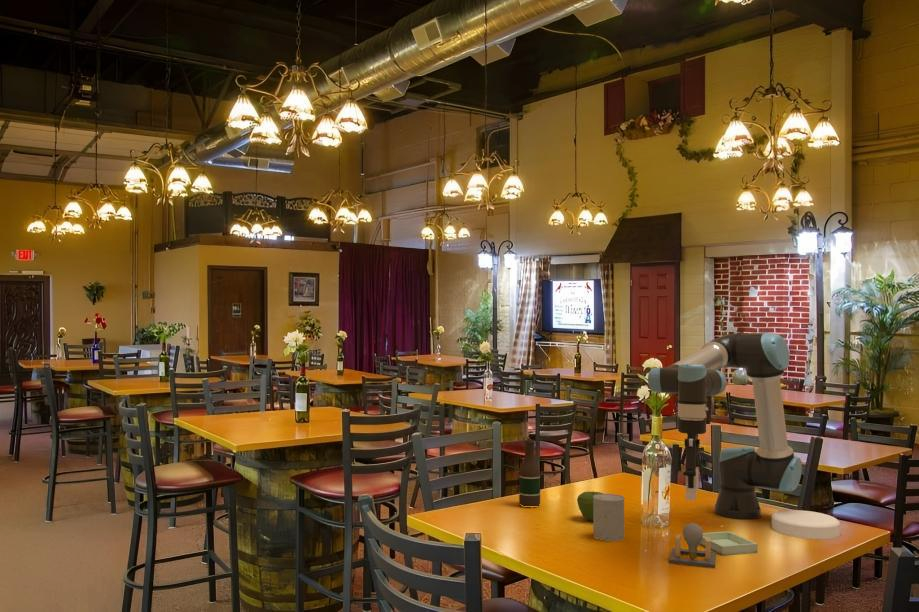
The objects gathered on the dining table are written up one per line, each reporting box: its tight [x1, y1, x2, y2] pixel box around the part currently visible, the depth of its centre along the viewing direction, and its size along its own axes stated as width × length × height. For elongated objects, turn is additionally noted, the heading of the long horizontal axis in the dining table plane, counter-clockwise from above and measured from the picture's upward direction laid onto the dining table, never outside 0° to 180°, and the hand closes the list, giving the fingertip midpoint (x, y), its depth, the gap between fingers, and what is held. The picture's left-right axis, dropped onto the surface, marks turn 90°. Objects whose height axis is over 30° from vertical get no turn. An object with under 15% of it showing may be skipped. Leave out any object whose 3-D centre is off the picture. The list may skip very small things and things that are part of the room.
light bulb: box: [682, 522, 704, 560], centre depth 205 cm, size 5×6×10 cm
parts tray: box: [699, 530, 759, 556], centre depth 217 cm, size 14×12×2 cm
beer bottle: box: [518, 438, 541, 507], centre depth 267 cm, size 8×8×24 cm
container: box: [771, 509, 841, 540], centre depth 235 cm, size 20×20×5 cm
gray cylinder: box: [592, 493, 625, 542], centre depth 227 cm, size 10×10×12 cm
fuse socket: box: [668, 533, 717, 569], centre depth 205 cm, size 12×12×6 cm
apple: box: [576, 490, 605, 522], centre depth 247 cm, size 11×10×10 cm
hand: (692, 494), depth 205 cm, fingers open, 13 cm apart
